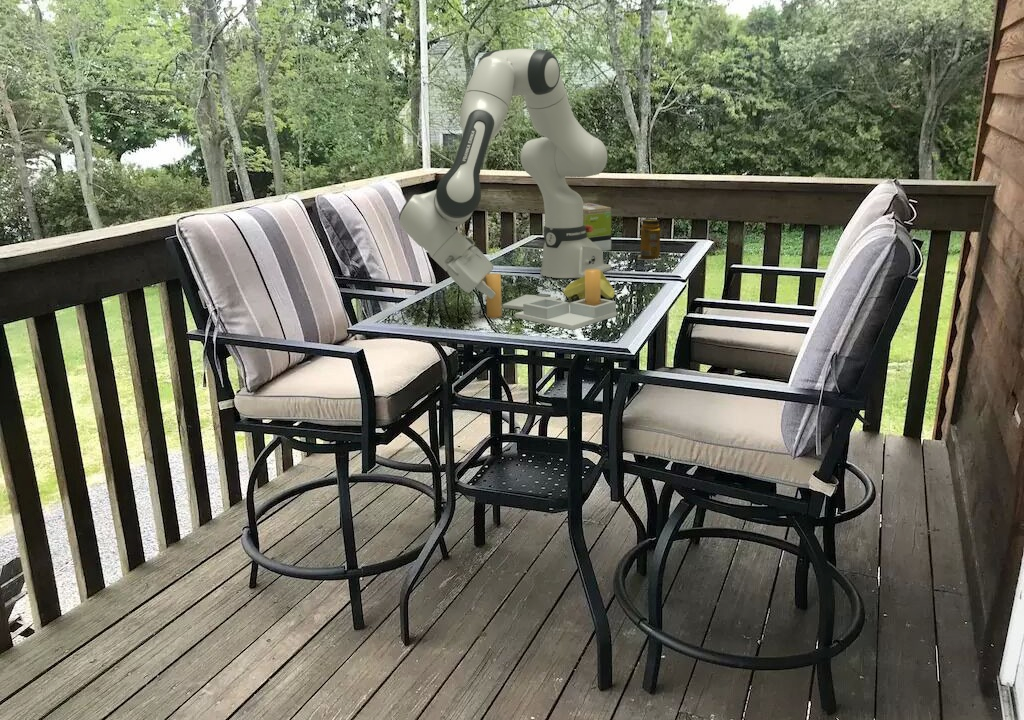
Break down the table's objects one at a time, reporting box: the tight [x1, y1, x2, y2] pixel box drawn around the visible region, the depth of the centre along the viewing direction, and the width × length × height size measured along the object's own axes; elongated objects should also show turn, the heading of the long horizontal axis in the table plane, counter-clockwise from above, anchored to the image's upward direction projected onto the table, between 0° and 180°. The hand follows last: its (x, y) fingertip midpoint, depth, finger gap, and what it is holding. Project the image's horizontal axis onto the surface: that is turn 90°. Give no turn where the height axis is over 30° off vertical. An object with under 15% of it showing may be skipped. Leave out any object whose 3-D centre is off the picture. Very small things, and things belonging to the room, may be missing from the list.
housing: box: [514, 269, 618, 331], centre depth 191 cm, size 16×18×11 cm
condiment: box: [637, 218, 662, 261], centre depth 258 cm, size 7×8×12 cm
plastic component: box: [562, 271, 616, 300], centre depth 208 cm, size 20×7×10 cm
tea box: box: [583, 202, 612, 252], centre depth 278 cm, size 15×10×15 cm, turn 25°
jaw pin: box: [485, 272, 503, 319], centre depth 194 cm, size 4×4×10 cm
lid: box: [502, 293, 561, 311], centre depth 206 cm, size 14×10×1 cm
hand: (496, 294), depth 194 cm, fingers closed on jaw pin, 4 cm apart
